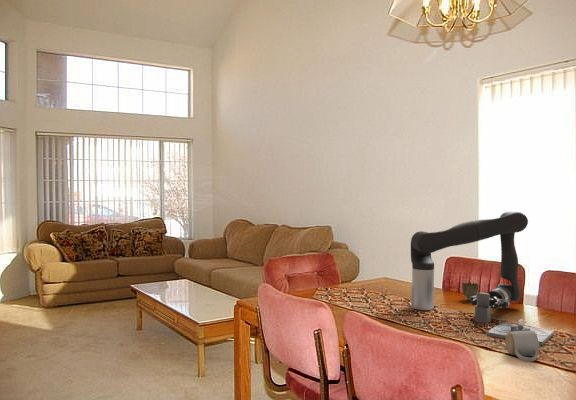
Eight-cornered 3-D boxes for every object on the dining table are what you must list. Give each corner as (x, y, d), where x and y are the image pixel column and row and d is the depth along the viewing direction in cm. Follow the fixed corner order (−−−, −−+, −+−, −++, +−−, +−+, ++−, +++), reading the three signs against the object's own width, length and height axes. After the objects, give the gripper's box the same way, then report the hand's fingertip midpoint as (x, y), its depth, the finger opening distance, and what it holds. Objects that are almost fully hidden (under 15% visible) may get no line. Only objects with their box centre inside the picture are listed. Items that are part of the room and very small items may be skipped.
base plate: (486, 335, 182) (487, 320, 181) (501, 325, 196) (502, 311, 196) (542, 345, 170) (542, 329, 170) (553, 334, 184) (554, 319, 184)
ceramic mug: (503, 350, 164) (504, 327, 164) (530, 351, 163) (530, 327, 163) (516, 362, 153) (516, 337, 153) (544, 363, 153) (545, 337, 153)
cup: (479, 302, 237) (479, 285, 237) (462, 301, 238) (463, 284, 238) (476, 299, 244) (477, 282, 244) (460, 298, 246) (461, 281, 245)
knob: (474, 321, 201) (475, 293, 200) (478, 319, 204) (479, 291, 204) (486, 323, 198) (487, 294, 198) (490, 321, 201) (491, 292, 201)
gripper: (479, 287, 219) (466, 292, 206) (514, 291, 210) (503, 297, 197) (479, 304, 219) (465, 311, 206) (514, 309, 210) (502, 317, 198)
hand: (484, 304), depth 202 cm, fingers open, 8 cm apart
